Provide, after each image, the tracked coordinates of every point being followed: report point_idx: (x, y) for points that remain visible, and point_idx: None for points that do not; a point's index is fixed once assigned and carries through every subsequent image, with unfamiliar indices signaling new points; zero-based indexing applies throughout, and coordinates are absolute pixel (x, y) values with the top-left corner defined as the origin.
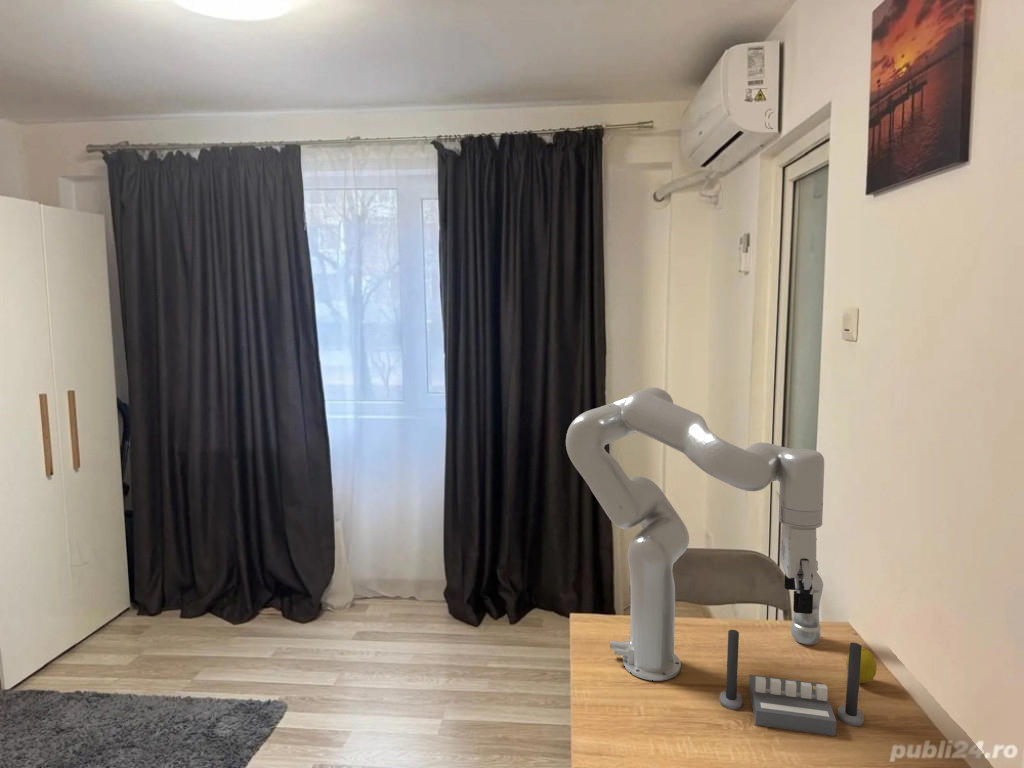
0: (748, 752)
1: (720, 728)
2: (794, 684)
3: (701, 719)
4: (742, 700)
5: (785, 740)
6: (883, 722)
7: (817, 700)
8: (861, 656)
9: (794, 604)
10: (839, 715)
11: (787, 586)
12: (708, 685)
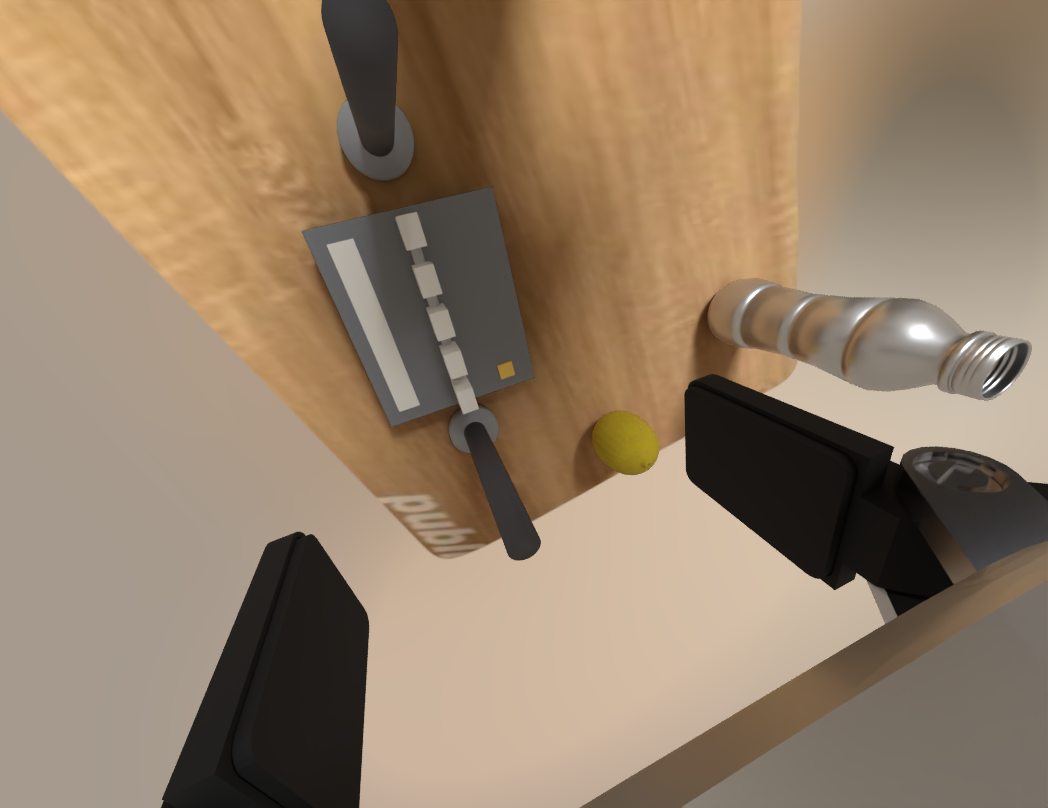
0: (153, 224)
1: (209, 116)
2: (437, 336)
3: (209, 31)
4: (381, 178)
5: (296, 315)
6: None
7: None
8: (624, 459)
9: (245, 605)
10: (461, 411)
11: (703, 405)
12: (433, 46)
